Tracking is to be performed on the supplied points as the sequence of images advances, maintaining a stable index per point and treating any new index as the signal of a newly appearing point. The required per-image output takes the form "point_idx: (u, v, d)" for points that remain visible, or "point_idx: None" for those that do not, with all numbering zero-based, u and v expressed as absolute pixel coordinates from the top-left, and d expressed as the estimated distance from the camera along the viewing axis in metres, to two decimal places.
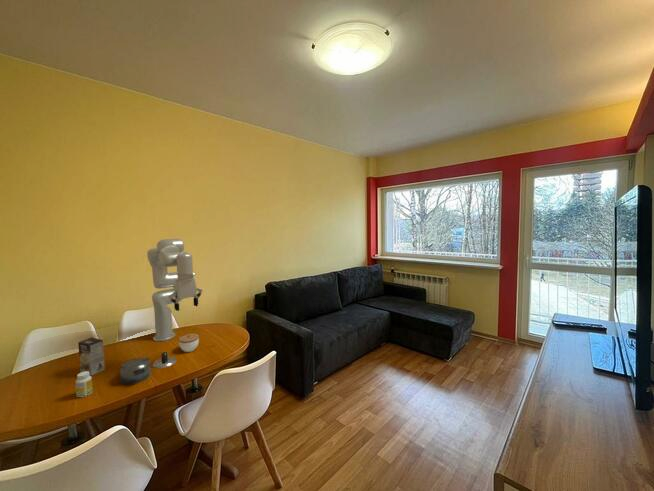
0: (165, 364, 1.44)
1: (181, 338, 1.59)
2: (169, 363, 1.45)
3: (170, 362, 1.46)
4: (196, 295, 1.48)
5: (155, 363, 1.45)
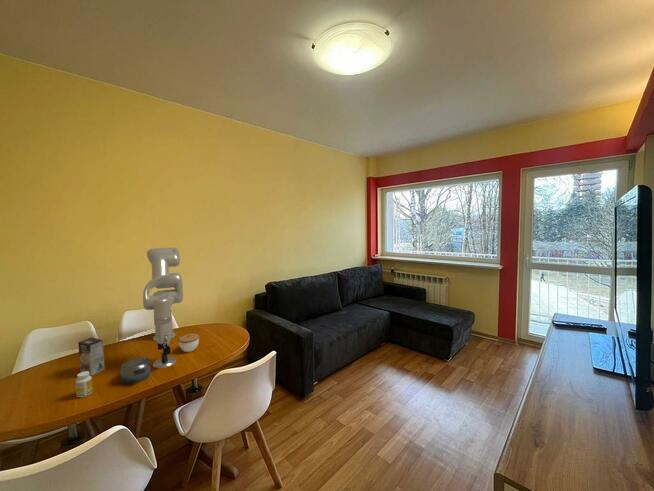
0: (165, 364, 1.44)
1: (181, 338, 1.59)
2: (169, 363, 1.45)
3: (170, 362, 1.46)
4: None
5: (155, 363, 1.45)
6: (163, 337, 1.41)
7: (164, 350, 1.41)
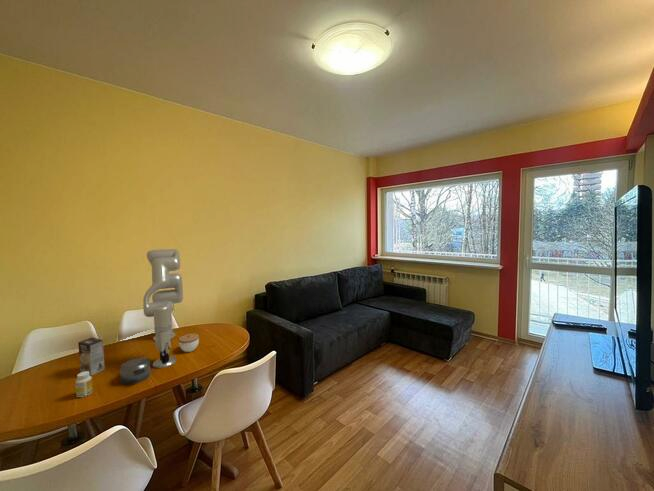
0: (165, 363, 1.44)
1: (181, 338, 1.59)
2: (169, 362, 1.45)
3: (170, 361, 1.47)
4: None
5: (155, 362, 1.45)
6: (163, 345, 1.42)
7: (163, 358, 1.44)
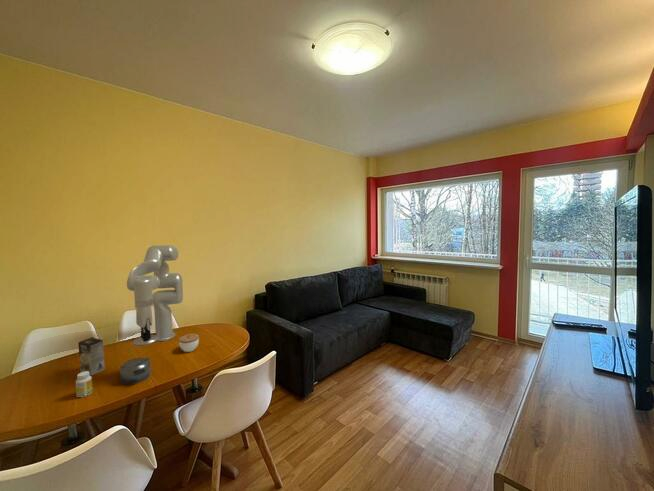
0: (146, 341, 1.34)
1: (181, 338, 1.59)
2: (151, 340, 1.35)
3: (152, 339, 1.37)
4: None
5: (135, 340, 1.35)
6: (144, 320, 1.32)
7: (144, 335, 1.34)
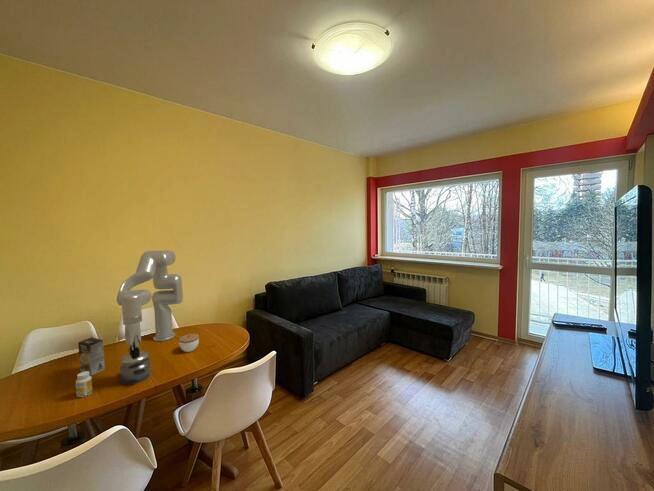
0: (135, 359, 1.30)
1: (181, 338, 1.59)
2: (139, 358, 1.31)
3: (141, 356, 1.32)
4: None
5: (124, 358, 1.31)
6: (132, 337, 1.27)
7: (132, 352, 1.30)
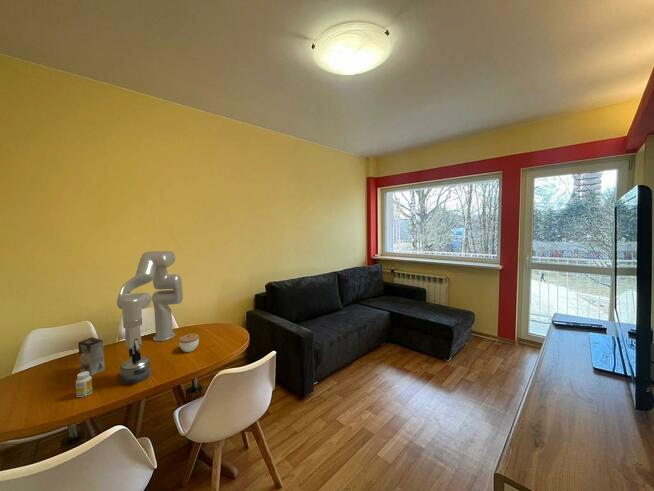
0: (135, 364, 1.30)
1: (181, 338, 1.59)
2: (140, 363, 1.31)
3: (142, 362, 1.32)
4: None
5: (124, 363, 1.31)
6: (133, 341, 1.27)
7: (133, 356, 1.29)
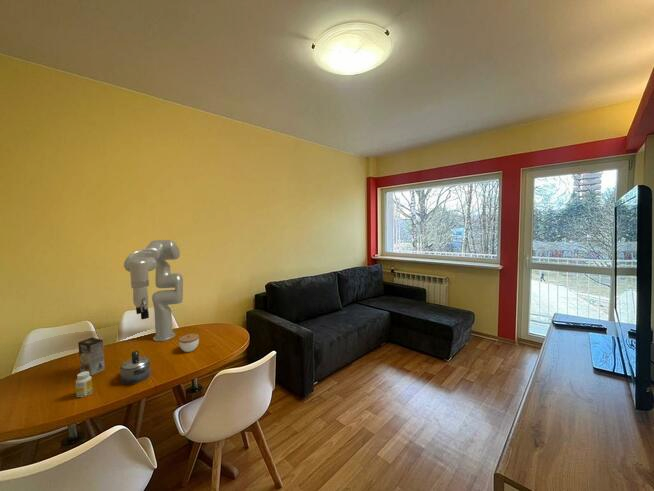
0: (135, 364, 1.30)
1: (181, 338, 1.59)
2: (140, 363, 1.31)
3: (142, 362, 1.32)
4: None
5: (124, 363, 1.31)
6: (140, 300, 1.34)
7: (142, 314, 1.35)
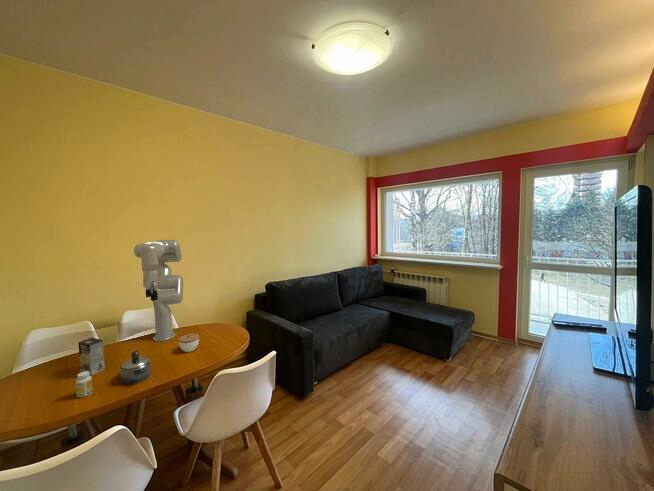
0: (135, 364, 1.30)
1: (181, 338, 1.59)
2: (140, 363, 1.31)
3: (142, 362, 1.32)
4: None
5: (124, 363, 1.31)
6: (150, 283, 1.44)
7: (151, 295, 1.45)
